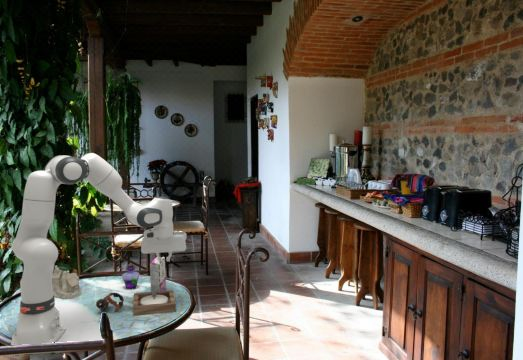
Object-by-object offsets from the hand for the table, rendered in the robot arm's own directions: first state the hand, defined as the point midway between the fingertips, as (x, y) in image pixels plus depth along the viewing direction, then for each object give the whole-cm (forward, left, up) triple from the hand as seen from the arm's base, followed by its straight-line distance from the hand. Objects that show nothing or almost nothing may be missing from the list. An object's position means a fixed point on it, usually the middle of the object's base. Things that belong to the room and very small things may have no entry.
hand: (164, 261), depth 209 cm
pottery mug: (-4, +24, -19) cm, 31 cm away
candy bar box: (+13, +3, -19) cm, 23 cm away
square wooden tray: (-4, +5, -19) cm, 20 cm away
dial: (-4, +5, -18) cm, 19 cm away
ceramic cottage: (+24, +45, -20) cm, 54 cm away
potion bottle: (+24, +16, -19) cm, 35 cm away
